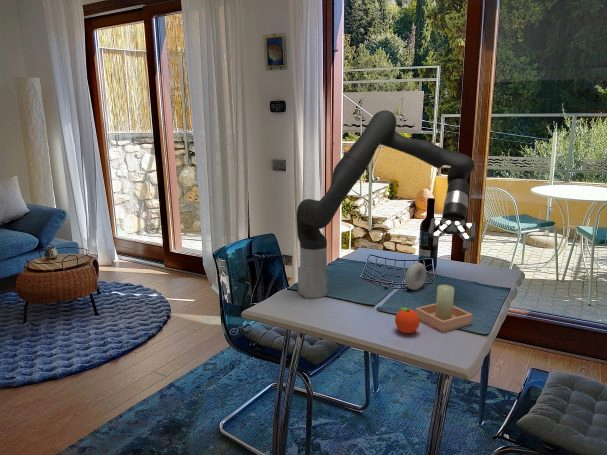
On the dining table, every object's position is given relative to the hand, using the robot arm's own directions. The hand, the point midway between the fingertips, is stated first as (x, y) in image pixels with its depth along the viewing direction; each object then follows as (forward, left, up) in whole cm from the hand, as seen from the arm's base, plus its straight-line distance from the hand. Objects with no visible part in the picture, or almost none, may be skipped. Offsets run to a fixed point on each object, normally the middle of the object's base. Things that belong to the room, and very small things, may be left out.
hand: (449, 249), depth 151 cm
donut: (+2, +17, -20) cm, 26 cm away
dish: (-9, -8, -19) cm, 23 cm away
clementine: (-23, -8, -20) cm, 31 cm away
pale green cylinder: (-9, -8, -18) cm, 22 cm away
